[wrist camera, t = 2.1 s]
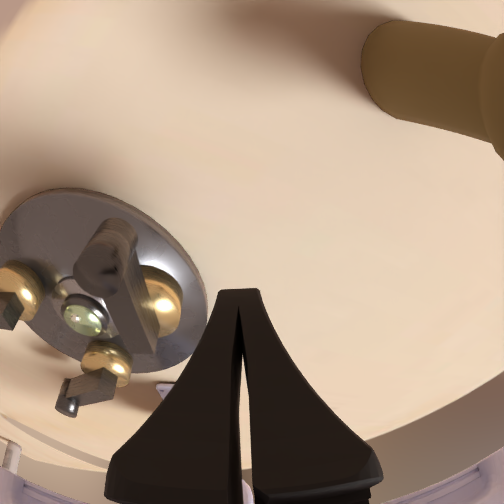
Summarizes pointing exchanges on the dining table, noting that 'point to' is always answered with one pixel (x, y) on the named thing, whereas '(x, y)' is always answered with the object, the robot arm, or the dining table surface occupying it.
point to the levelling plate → (73, 296)
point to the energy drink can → (12, 457)
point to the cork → (438, 78)
